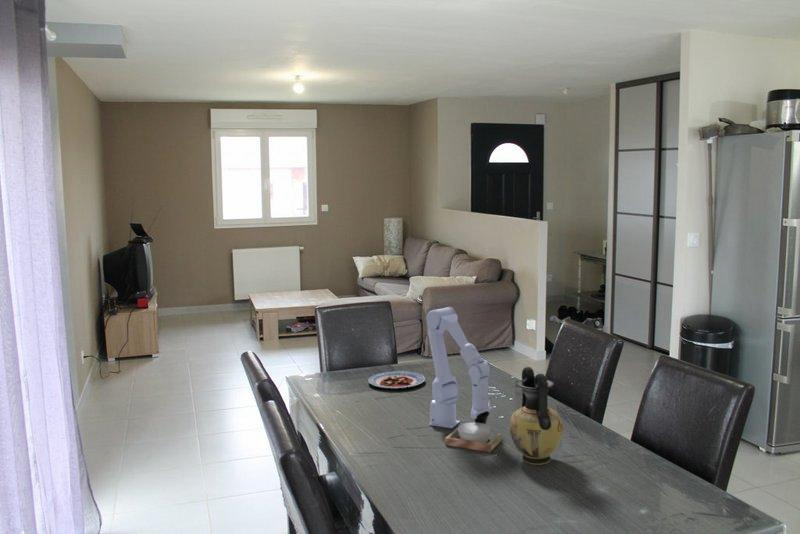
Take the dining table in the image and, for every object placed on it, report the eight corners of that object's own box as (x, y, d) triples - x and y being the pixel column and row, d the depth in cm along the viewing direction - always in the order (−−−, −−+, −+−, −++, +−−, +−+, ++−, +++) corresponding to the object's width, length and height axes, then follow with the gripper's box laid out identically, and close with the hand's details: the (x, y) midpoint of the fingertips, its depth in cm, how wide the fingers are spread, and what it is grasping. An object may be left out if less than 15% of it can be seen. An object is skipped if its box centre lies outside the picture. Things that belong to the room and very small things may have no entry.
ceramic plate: (425, 391, 303) (425, 385, 302) (366, 392, 303) (366, 386, 303) (424, 375, 328) (424, 369, 328) (370, 376, 329) (369, 370, 329)
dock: (445, 444, 241) (445, 437, 241) (457, 434, 251) (457, 427, 251) (490, 452, 233) (489, 445, 233) (500, 440, 243) (500, 433, 243)
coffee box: (532, 430, 253) (532, 387, 251) (514, 429, 254) (514, 386, 252) (533, 421, 262) (532, 380, 260) (515, 420, 263) (515, 379, 261)
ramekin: (451, 443, 243) (451, 428, 242) (470, 433, 251) (470, 419, 250) (477, 450, 235) (477, 435, 234) (496, 441, 243) (496, 426, 242)
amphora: (499, 454, 231) (498, 367, 227) (542, 445, 238) (542, 360, 234) (529, 474, 215) (529, 380, 211) (574, 464, 222) (574, 373, 218)
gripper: (483, 402, 239) (484, 440, 240) (497, 390, 251) (498, 426, 253) (464, 400, 242) (465, 437, 244) (479, 388, 255) (479, 424, 256)
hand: (480, 431), depth 249 cm, fingers closed
